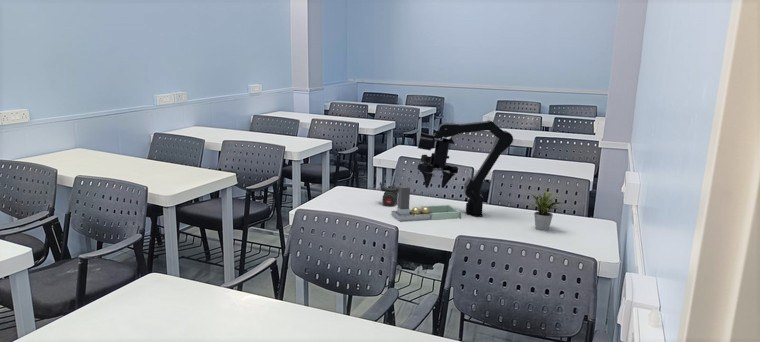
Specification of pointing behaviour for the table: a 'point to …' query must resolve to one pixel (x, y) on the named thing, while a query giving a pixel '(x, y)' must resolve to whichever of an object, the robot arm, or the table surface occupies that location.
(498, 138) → the robot arm
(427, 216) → the slot rail
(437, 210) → the tray
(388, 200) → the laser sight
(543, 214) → the house plant
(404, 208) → the tall gray pillar
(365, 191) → the table surface
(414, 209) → the brass sphere
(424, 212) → the gold ball
